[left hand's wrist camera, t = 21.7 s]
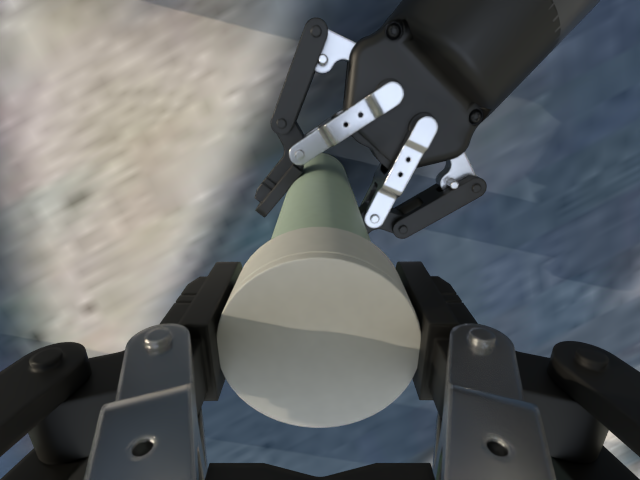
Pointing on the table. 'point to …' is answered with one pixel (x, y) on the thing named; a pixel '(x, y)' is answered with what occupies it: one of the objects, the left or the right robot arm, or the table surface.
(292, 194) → the pale green cylinder
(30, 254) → the table surface
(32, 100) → the table surface
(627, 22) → the table surface
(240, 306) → the lid
